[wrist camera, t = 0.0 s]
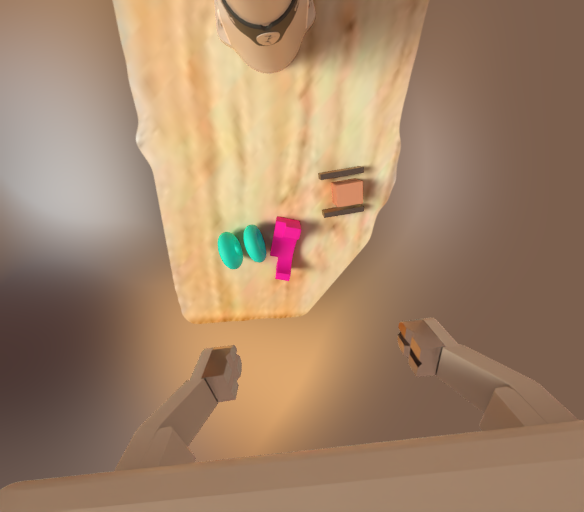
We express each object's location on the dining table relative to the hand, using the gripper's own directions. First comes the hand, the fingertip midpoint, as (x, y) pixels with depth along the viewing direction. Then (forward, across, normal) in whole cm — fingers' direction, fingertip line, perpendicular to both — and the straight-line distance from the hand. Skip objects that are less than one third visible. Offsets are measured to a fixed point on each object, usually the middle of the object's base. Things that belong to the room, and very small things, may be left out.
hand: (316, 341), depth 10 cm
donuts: (+48, +15, +11) cm, 51 cm away
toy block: (+48, +5, +14) cm, 50 cm away
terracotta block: (+48, -13, +2) cm, 49 cm away
